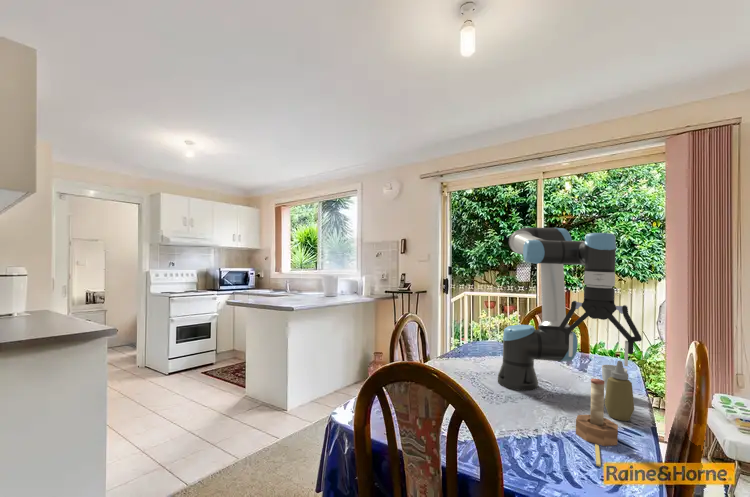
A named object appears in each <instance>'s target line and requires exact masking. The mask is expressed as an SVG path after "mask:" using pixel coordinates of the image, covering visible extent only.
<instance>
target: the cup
mask: <svg viewBox="0 0 750 497" xmlns="http://www.w3.org/2000/svg"><path fill="white" fill-rule="evenodd" d="M623 368H624V372H626V373H628V369H627V368H625V367H623ZM615 369H616V365H614V364H602V365H601V376H602V377H601V378H602V380H603V381H604V392H606V387H607V380H608V378H609V377H612V376H611V371H615Z"/></svg>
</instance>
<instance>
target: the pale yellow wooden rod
mask: <svg viewBox="0 0 750 497" xmlns="http://www.w3.org/2000/svg"><path fill="white" fill-rule="evenodd" d="M594 452H595V465H596V467H599V468H600V467H601V453H600V445H599V444H595V443H594Z"/></svg>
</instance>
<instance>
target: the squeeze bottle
mask: <svg viewBox="0 0 750 497" xmlns="http://www.w3.org/2000/svg"><path fill="white" fill-rule="evenodd" d="M615 366H616V369H615V371H611V376H612V377H609V378H608V380H607V387H606V391H605V394H604V408H606V412H607V415H608V416H609V417H610V418H613V419H614V420H618V421H623V422H624V421H625V422H628V421H631V418H632V415H633V414H634V411H635V400H634V393H633V382H631V381H630V380H629V374H628V372H627V373H626V372H624V368H625V367H624V364H623V361H621V360H617V362H616V365H615Z"/></svg>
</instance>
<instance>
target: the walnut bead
mask: <svg viewBox="0 0 750 497" xmlns="http://www.w3.org/2000/svg"><path fill="white" fill-rule="evenodd" d="M618 426H619V425H618V424H617V423H615V422H613V421H611V420H609V419H608V418H606V417H604V423H603V426H597V425H593V424H591V423H590V414H578V415H576V418H575V435H577V436H578V437H580V438H581V439H582V440H584V441H586V442H588V443H591V444H594V445H595V444H597V445H599V446H603V447H608V446H609V447H610V446H618V440H619V434H618V433H619V427H618Z"/></svg>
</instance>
